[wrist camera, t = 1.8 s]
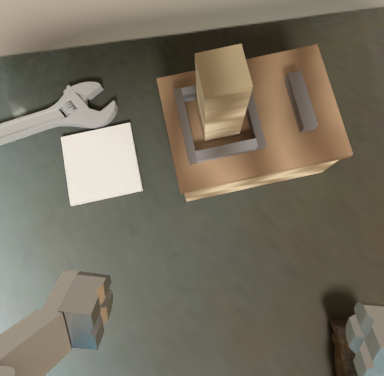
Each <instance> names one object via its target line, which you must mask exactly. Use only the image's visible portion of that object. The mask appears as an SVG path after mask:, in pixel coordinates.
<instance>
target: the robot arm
mask: <svg viewBox="0 0 384 376" xmlns="http://www.w3.org/2000/svg"><path fill="white" fill-rule="evenodd" d="M110 284H111V279H110V276H109V275H104V274H96V273H89V272H81V271H73V270H64V271H63V272H62V273H61V275H60V277H59V279H58V280H57V282H56V284H55V286H54V288H53V289H52V291H51V293H50V295H49V297H48V298H47V300H46V302H45V304H44V306H43V307H42V309H41V310H35V311H34V312H32V313H31V314H30V315H28V316H27V317H25V318H24V319H22V320H21V321H19V322H18V323H16V324H15V325H14V326H12V327H11V328H9V329H8V330H6V331H5V332H3V333H2V334H0V376H45V375H46V374H47V373H48V372H49V371H50V370H51V369H52V368H53V367H54V366H55V365H56V364H57V363H58V362H59V361H60V360H61V359H62V358H63V357H64V356H65V355H67V354H68V353H69V352H70V351H71V350H72V348H80V349H91V350H98V347H99V344H100V342H101V339H102V336H103V333H104V328H103V323H104V322H106V321H107V320H108V319H109V315H110V312H111V308H112V302H113V294H112V291H111V290H110V289H109V287H110ZM354 312H355V315H353V316H351V317H349V319H348V322H347V324H346V338H347V342H348V346H349V348H350V349H351V350H352V351H353V352H354V353H355V354H356V355H355V358H354V360H353V362H354V365H355V368H356V371H357V374H358V376H384V304H378V303H367V302H358V303H357V304H356V305H355V307H354Z"/></svg>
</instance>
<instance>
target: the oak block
mask: <svg viewBox="0 0 384 376" xmlns="http://www.w3.org/2000/svg"><path fill="white" fill-rule="evenodd" d="M195 70H196V91H197V111H198V115H199V119H200V123H201V128H202V132H203V136H204V141H205V142H208V141H213V140H217V139H222V138H227V137H231V136H236V135H239V134H240V131H241V127H242V124H243V120H244V117H245V113H246V110H247V106H248V103H249V99H250V96H251V92H252V89H253V84H252V80H251V76H250V73H249V69H248V66H247V62H246V58H245V55H244V51H243V47H242V44H237V45H232V46H227V47H223V48H218V49H213V50H208V51H204V52H199V53H195Z"/></svg>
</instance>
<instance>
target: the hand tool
mask: <svg viewBox="0 0 384 376" xmlns="http://www.w3.org/2000/svg"><path fill="white" fill-rule="evenodd" d="M347 322H348V319H336V320H332V321H330V325H331V326H332V328H333V333H332V341H333V342H334V349H335V358H334V362H335V372H336V376H358V374H357V371H356V368H355V365H354V362H353V360H354V358H355V355H356V354H355V353H354V352H353V351H352V350H351V349H350V348H349V346H348V342H347V338H346V324H347Z"/></svg>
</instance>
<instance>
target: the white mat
mask: <svg viewBox="0 0 384 376" xmlns="http://www.w3.org/2000/svg"><path fill="white" fill-rule="evenodd" d="M61 142H62V149H63V156H64V163H65V171H66V178H67V185H68V192H69V199H70V205H71V206H75V205H79V204H84V203H89V202H93V201H98V200H102V199H107V198H112V197H116V196H121V195H126V194H130V193H135V192H140V191H143V187H142V181H141V176H140V171H139V165H138V160H137V155H136V149H135V144H134V139H133V133H132V128H131V124H130V122H129V123H125V124H120V125H115V126H111V127H106V128H101V129H97V130H92V131H87V132H83V133H78V134H73V135H69V136H64V137H61Z"/></svg>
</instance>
